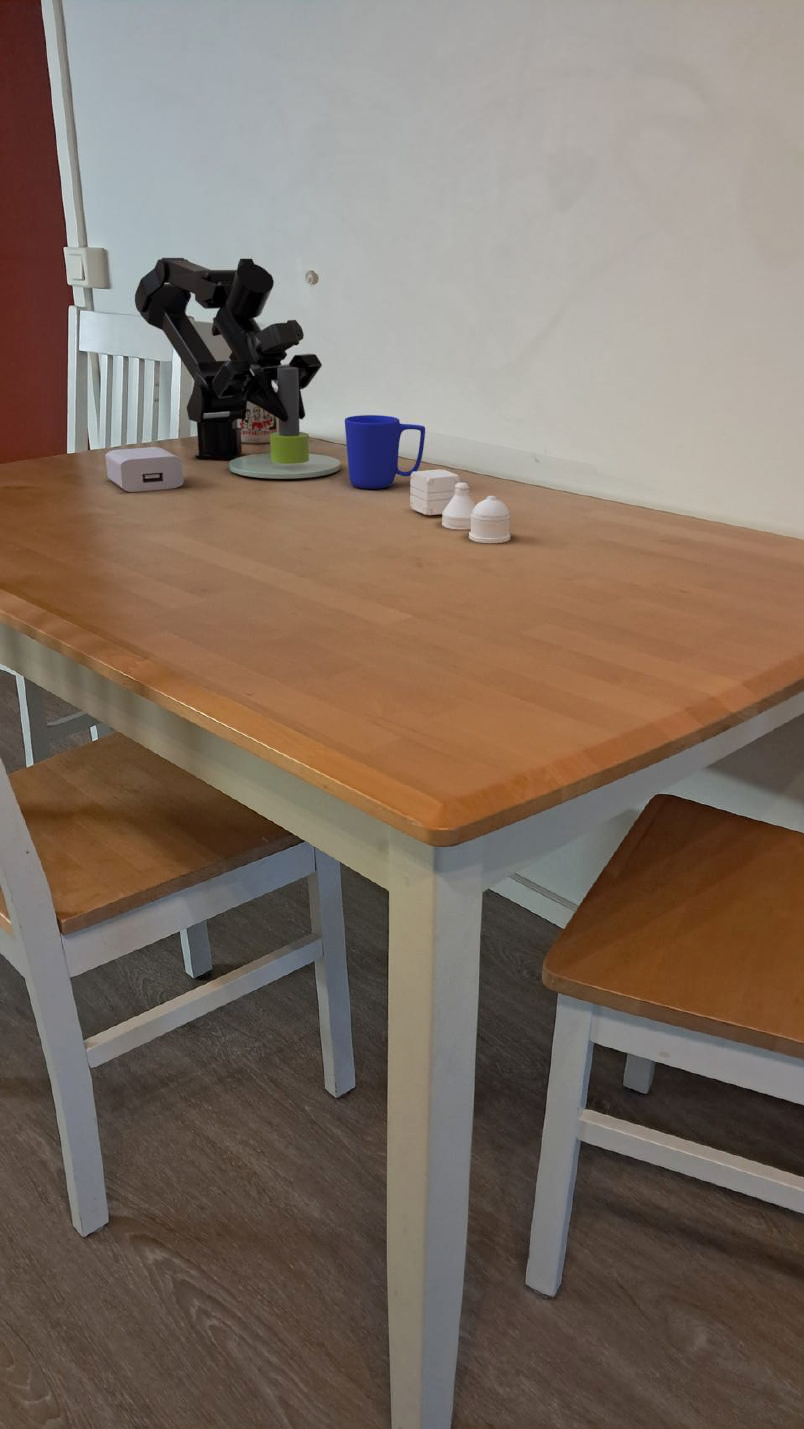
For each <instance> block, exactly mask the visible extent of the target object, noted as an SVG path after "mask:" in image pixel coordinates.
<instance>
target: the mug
mask: <svg viewBox="0 0 804 1429" xmlns="http://www.w3.org/2000/svg"><path fill="white" fill-rule="evenodd" d="M400 421H401V420H400V419H399V418H398V417H396V416H389V415H380V414H361V415H352V416H348V417H346V418H345V419H344V428H345V429H344V431H345V442H346V454H347V455H346V456H347V466H348V467H347V468H348V477H349V482H350V484H351V485H353V487H355V488H357V489H358V488H359V489H364V490H379V489H385V488H386V489H387V488H389V487H391V486H392V485H393V484H394V482H395V478H396V475H398V476H401V477H411V474H412V472H416V471H419V468H420V466H421V463H422V458H423V454H424V448H425V447H424V446H425V437H426V427H425V426H424V425H420V424H411V423H401V422H400ZM406 430H407V431H408V430H416V431H419V432H420V435H419V446H418V453H417V458H416V461H415V464H414V465H413V467H412V468H411V469H410V470H408V471H402V470H400V469H399V450H400V449H399V448H400V441H401V436H402V433H403V432H404V431H406Z"/></svg>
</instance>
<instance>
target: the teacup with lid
mask: <svg viewBox="0 0 804 1429" xmlns="http://www.w3.org/2000/svg"><path fill="white" fill-rule="evenodd" d="M273 388H274V390H275V392H277V391H278V387H274V386H273ZM237 426H238V428H240V429H241V444H249V445H258V444H259V445H262V444H270V434H271V433H275V432H279V419H278V418H277V417H275V416H273V415H272V414H270V413H269V412H267V411H265V410H264V409H262V408H260V407H258V406H256V405H254V404H253V403H251V402H249V401H247V408H246V415H245V419H243V420H242V419H237Z"/></svg>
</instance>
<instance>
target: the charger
mask: <svg viewBox="0 0 804 1429" xmlns="http://www.w3.org/2000/svg"><path fill="white" fill-rule="evenodd" d="M105 464H106V475H107V478H108V479H109V480H110V481H111V482H112V483H114V484H115V485H117V486H119V487H120V488H121V489H123V491H126V492H129V493H136V492H138V493H139V492H149V491H159V490H160V491H161V490H171V489H176V488H179V487H182V485H183V484H184V470H183V469H184V468H183V461H182V459H181V458H180V457H179V456H177V455H175V454H172V453H171V452H169V451H167V450H166V449H163V448H162V447H158V446H150V447H149V446H148V447H136V448H133V447H132V448H121V449H112V450H109V451H107V453H105Z"/></svg>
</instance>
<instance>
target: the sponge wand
mask: <svg viewBox="0 0 804 1429" xmlns="http://www.w3.org/2000/svg"><path fill="white" fill-rule="evenodd" d="M277 380H278V386H277V389H278V397H279V399H280V401H281V403H282V404H283V406H284V408H285V410H286V412H287V414H288V417H289V418H288V420H287V421H286V422H283V421H282V420H280V419H279V432H275V433H271V434H270V443H269V444H270V453H271V461H272V462H275V463H282V464H298V463H304V462H308V461H309V454H310V446H309V445H310V442H309V441H310V439H309V438H310V437H309V433H307V432H303V431H300V419H299V385H298V368H297V367H278V368H277Z"/></svg>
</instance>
